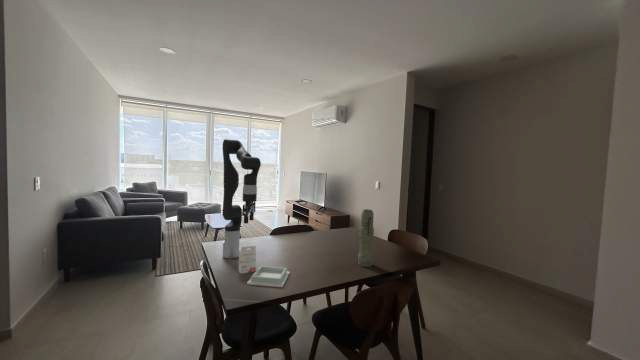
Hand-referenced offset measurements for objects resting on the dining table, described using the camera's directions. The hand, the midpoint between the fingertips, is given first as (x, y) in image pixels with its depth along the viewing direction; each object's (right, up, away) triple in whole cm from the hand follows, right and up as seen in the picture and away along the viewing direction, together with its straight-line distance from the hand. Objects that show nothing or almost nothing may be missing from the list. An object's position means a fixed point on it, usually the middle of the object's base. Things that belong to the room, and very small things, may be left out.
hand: (248, 221), depth 147 cm
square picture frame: (+13, -29, -7) cm, 33 cm away
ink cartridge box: (-1, -28, +1) cm, 28 cm away
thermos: (+68, -31, +21) cm, 78 cm away
